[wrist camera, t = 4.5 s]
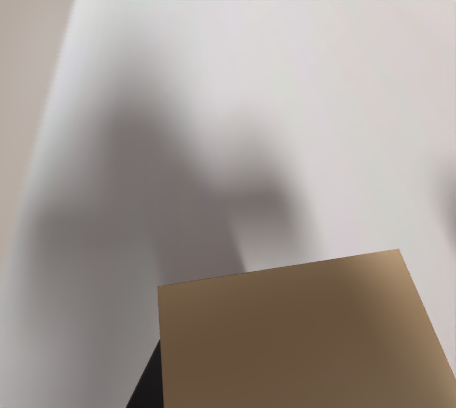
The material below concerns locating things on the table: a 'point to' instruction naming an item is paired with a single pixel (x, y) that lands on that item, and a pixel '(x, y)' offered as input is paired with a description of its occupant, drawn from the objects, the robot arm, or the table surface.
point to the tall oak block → (303, 339)
